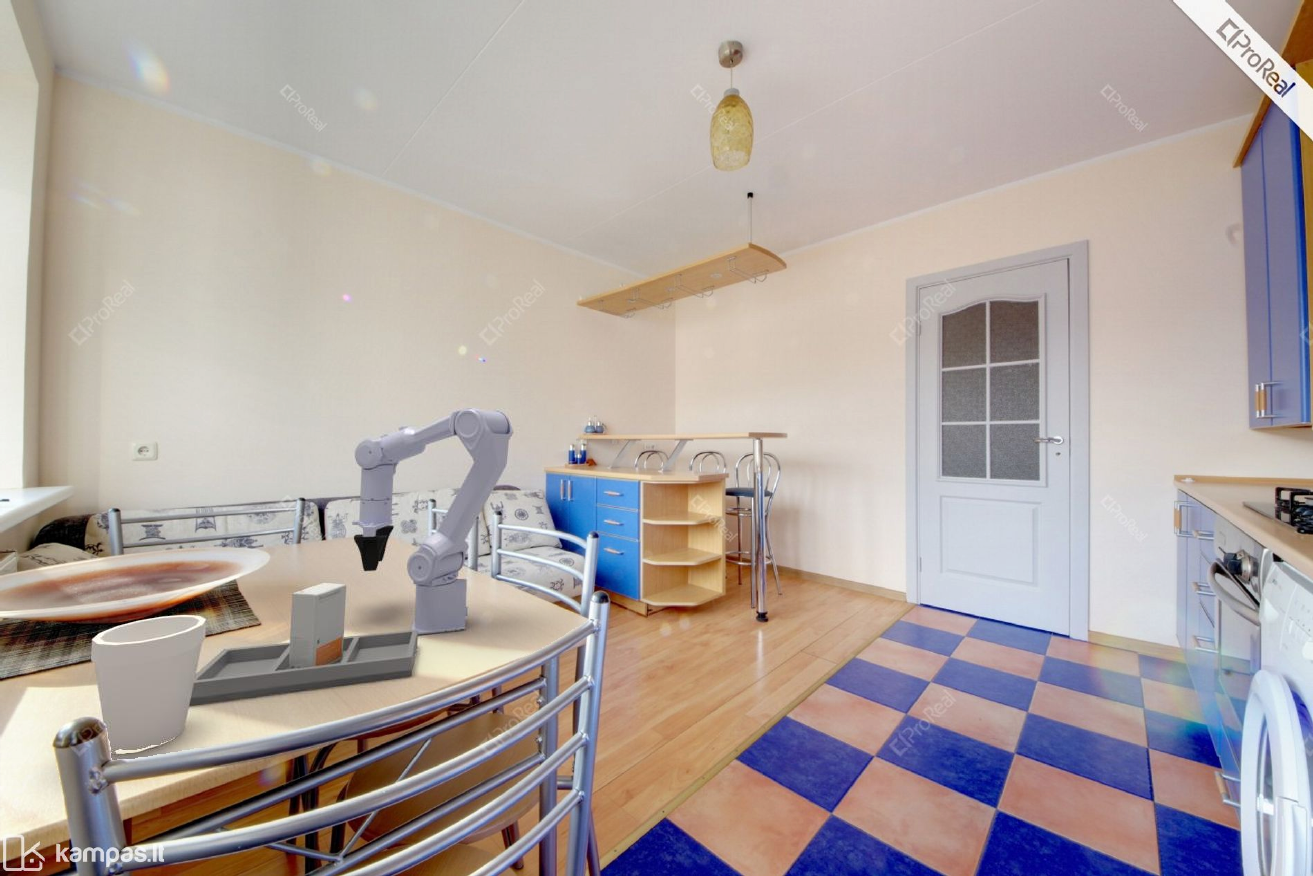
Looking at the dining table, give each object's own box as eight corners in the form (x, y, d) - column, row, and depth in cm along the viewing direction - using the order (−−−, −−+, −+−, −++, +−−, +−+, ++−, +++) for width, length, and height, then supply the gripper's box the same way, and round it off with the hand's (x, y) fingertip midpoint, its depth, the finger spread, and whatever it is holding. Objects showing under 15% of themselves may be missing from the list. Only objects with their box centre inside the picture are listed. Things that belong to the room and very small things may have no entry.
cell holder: (417, 646, 86) (417, 629, 86) (410, 676, 75) (411, 656, 75) (223, 668, 76) (224, 649, 76) (183, 706, 65) (184, 684, 65)
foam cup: (171, 710, 64) (175, 611, 65) (220, 724, 62) (224, 620, 62) (67, 753, 55) (72, 637, 55) (119, 771, 53) (124, 650, 53)
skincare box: (312, 676, 72) (315, 595, 73) (287, 673, 73) (290, 593, 73) (344, 658, 78) (347, 583, 79) (321, 656, 79) (323, 581, 79)
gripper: (360, 494, 105) (357, 558, 105) (345, 503, 92) (342, 576, 91) (397, 494, 108) (394, 556, 108) (388, 503, 94) (385, 574, 94)
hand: (373, 565), depth 100 cm, fingers open, 7 cm apart
